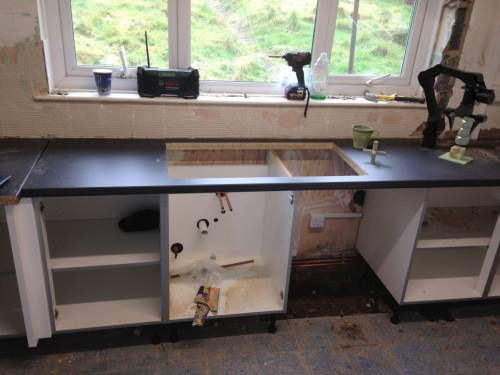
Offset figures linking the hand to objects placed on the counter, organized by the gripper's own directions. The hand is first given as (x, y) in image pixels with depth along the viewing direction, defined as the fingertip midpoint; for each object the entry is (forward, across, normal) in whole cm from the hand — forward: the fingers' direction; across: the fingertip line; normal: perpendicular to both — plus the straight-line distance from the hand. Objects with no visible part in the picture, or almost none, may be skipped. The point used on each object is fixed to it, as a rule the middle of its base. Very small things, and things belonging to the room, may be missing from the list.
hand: (460, 132), depth 205 cm
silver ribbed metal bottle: (+12, -5, +21) cm, 25 cm away
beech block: (+11, +3, -5) cm, 12 cm away
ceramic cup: (+12, -34, -28) cm, 46 cm away
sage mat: (+12, +3, -5) cm, 13 cm away
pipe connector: (+12, -19, -44) cm, 50 cm away
